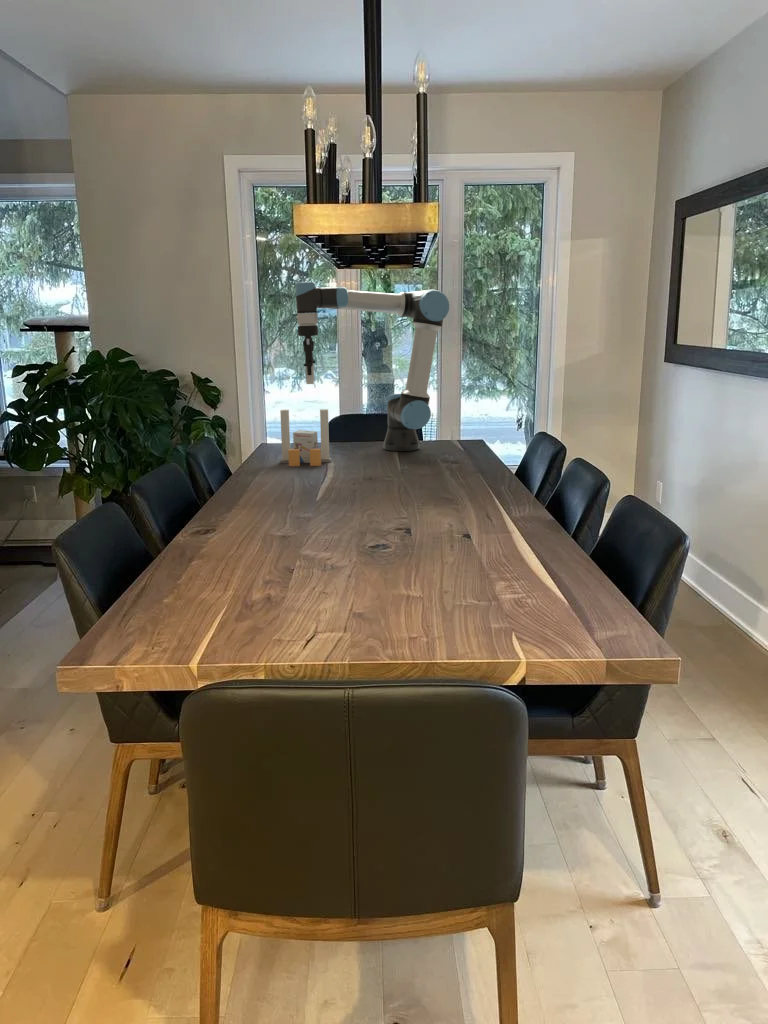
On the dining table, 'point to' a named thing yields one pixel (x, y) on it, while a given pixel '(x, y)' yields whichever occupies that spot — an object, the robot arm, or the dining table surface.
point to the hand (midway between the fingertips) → (310, 382)
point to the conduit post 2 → (324, 435)
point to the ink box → (305, 443)
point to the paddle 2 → (315, 457)
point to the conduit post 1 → (285, 435)
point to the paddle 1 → (294, 457)
